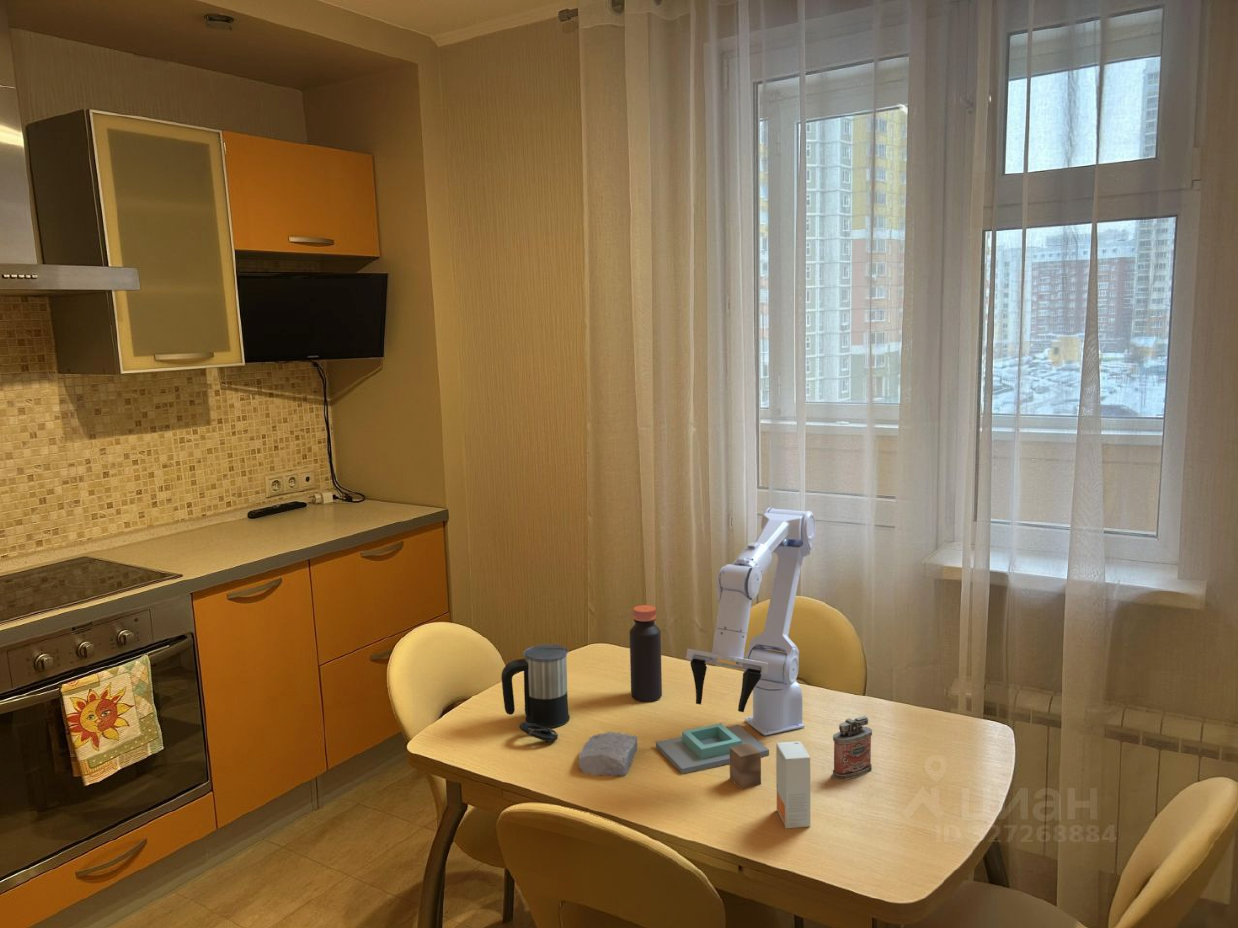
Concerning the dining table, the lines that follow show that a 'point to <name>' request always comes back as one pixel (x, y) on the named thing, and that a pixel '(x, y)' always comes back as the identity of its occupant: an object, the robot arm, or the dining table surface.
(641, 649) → the bottle
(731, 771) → the tall brown post
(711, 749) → the assembly cradle
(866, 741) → the lighter
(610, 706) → the dining table surface
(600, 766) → the stone block
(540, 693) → the milk frother
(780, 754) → the skincare box
